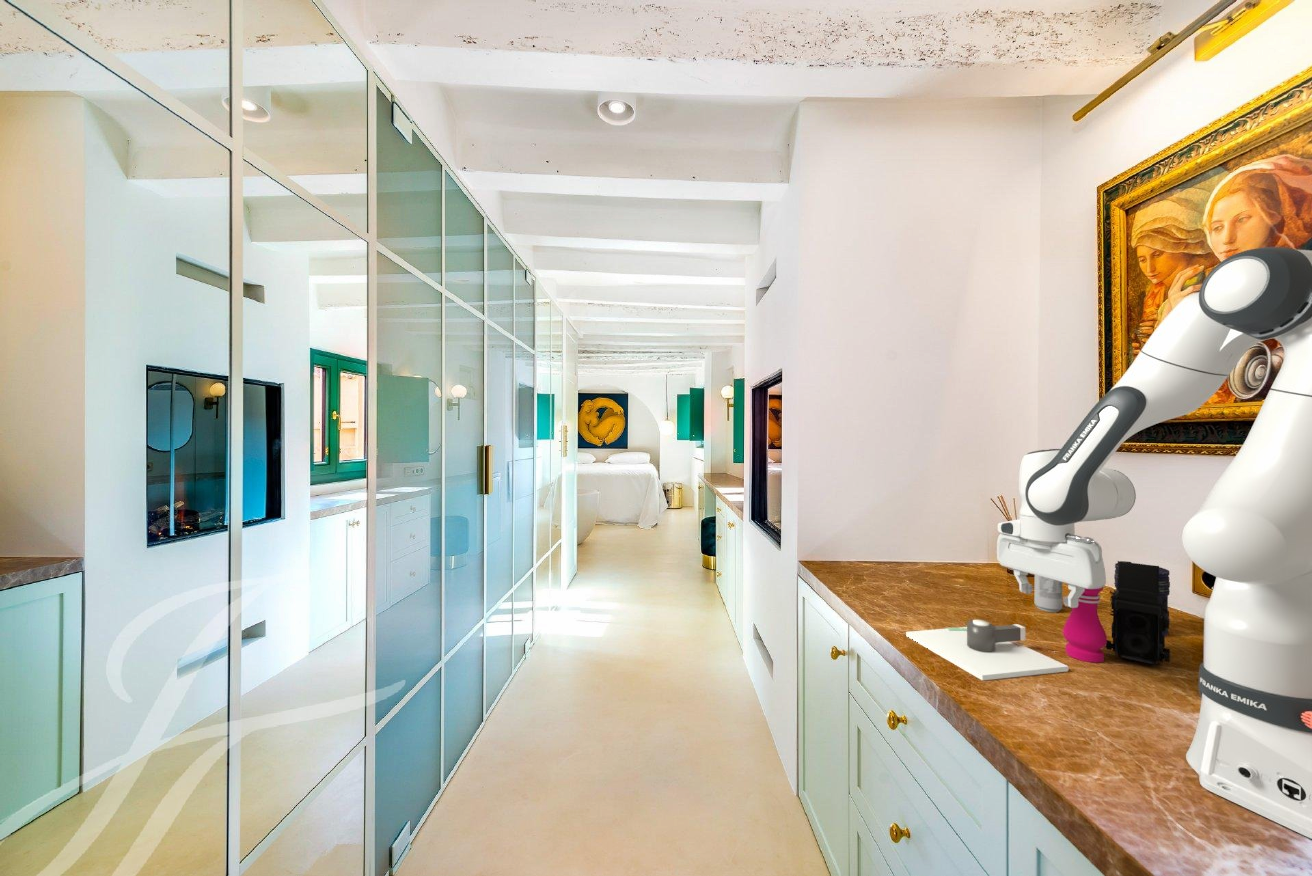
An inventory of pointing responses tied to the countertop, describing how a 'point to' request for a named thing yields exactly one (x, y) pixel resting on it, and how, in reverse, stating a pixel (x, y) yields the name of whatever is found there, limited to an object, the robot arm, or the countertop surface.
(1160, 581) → the storage jar
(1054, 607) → the energy drink can
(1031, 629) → the countertop surface
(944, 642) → the tuner board
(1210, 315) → the robot arm
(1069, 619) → the pepper mill
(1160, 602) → the camera
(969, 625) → the dial
